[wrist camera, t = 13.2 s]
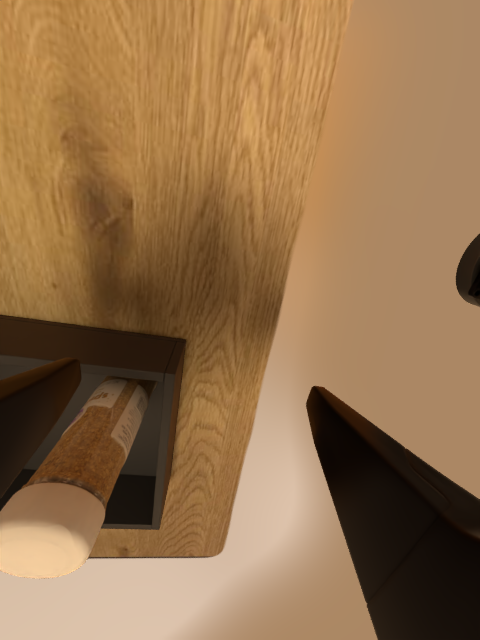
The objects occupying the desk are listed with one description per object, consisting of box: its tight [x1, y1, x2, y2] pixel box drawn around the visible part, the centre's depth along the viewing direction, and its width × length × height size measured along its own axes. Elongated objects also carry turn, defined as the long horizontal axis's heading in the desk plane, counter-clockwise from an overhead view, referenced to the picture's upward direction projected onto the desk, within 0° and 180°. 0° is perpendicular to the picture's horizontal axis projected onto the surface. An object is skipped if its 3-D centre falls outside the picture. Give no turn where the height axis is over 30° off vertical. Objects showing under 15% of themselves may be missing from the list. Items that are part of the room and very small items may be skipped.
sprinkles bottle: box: [0, 376, 158, 578], centre depth 17 cm, size 5×5×13 cm
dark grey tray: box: [0, 315, 186, 530], centre depth 22 cm, size 22×20×6 cm
